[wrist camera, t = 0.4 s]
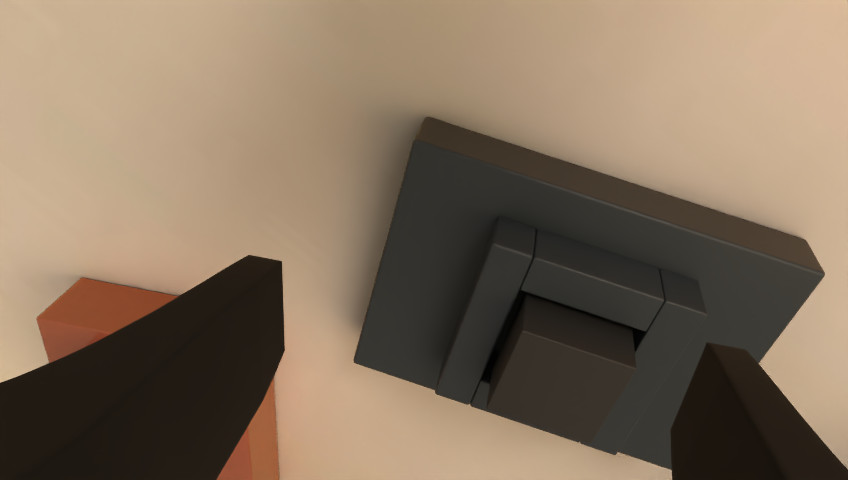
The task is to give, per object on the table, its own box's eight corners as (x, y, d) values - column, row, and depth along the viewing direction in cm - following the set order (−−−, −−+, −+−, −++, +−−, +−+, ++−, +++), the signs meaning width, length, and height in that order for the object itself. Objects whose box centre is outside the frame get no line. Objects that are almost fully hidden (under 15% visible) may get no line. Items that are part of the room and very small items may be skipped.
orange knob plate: (279, 481, 31) (238, 571, 27) (121, 445, 32) (60, 527, 28) (270, 313, 26) (217, 396, 22) (81, 276, 27) (-1, 349, 23)
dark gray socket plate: (670, 432, 25) (683, 512, 22) (366, 329, 25) (338, 395, 22) (807, 239, 20) (847, 309, 17) (426, 114, 20) (400, 162, 17)
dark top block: (589, 402, 21) (590, 445, 19) (492, 369, 21) (485, 410, 19) (632, 327, 19) (637, 369, 17) (526, 292, 19) (521, 330, 18)
